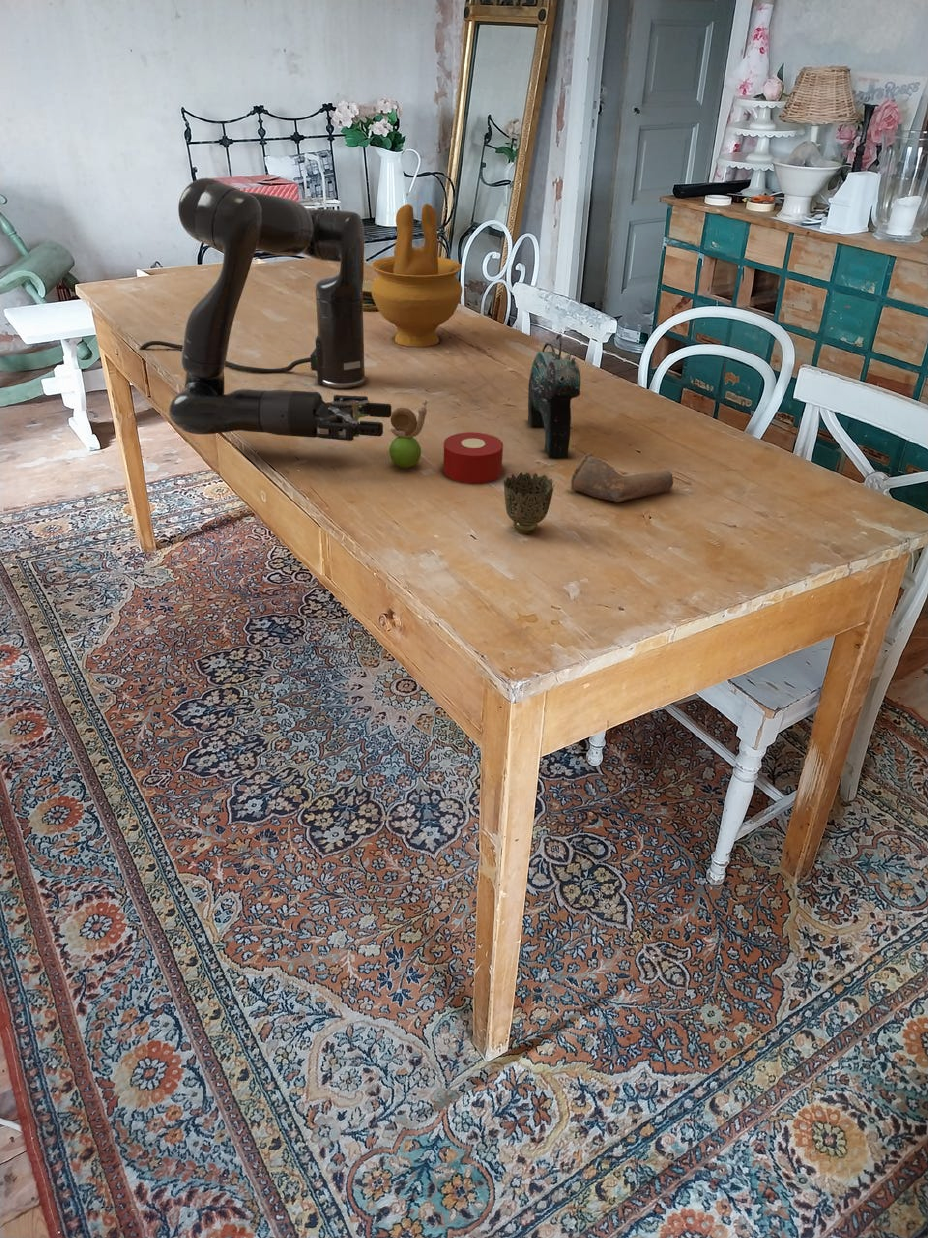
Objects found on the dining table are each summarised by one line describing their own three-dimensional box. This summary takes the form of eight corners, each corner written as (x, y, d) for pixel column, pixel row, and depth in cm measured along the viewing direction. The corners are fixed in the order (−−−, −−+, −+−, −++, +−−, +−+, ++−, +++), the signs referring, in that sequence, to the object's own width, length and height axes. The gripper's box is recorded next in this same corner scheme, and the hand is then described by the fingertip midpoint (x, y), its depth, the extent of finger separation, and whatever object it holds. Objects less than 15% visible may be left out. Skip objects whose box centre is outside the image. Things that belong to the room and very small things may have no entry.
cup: (498, 518, 145) (501, 471, 141) (545, 518, 146) (549, 470, 141) (504, 541, 139) (507, 492, 135) (553, 541, 140) (557, 492, 135)
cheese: (439, 481, 156) (440, 452, 153) (446, 457, 164) (447, 429, 161) (499, 485, 155) (501, 456, 152) (503, 461, 164) (505, 433, 161)
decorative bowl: (445, 324, 232) (448, 193, 216) (473, 350, 216) (478, 210, 199) (362, 329, 226) (359, 195, 210) (384, 356, 210) (382, 213, 193)
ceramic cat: (576, 461, 165) (587, 348, 154) (540, 462, 164) (549, 349, 153) (549, 419, 181) (558, 314, 170) (516, 420, 180) (523, 315, 169)
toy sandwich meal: (336, 307, 242) (335, 289, 239) (358, 295, 252) (358, 277, 250) (380, 313, 238) (380, 294, 236) (401, 301, 249) (401, 283, 246)
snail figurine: (422, 475, 158) (423, 406, 151) (385, 470, 159) (384, 402, 152) (429, 462, 162) (430, 395, 155) (393, 458, 163) (393, 391, 156)
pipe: (685, 468, 152) (648, 437, 158) (602, 486, 144) (567, 453, 151) (674, 501, 156) (639, 469, 162) (594, 520, 149) (560, 486, 155)
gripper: (279, 406, 149) (379, 413, 148) (300, 377, 161) (393, 383, 160) (282, 450, 153) (380, 457, 152) (303, 419, 165) (393, 425, 164)
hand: (386, 419), depth 156 cm, fingers open, 8 cm apart
